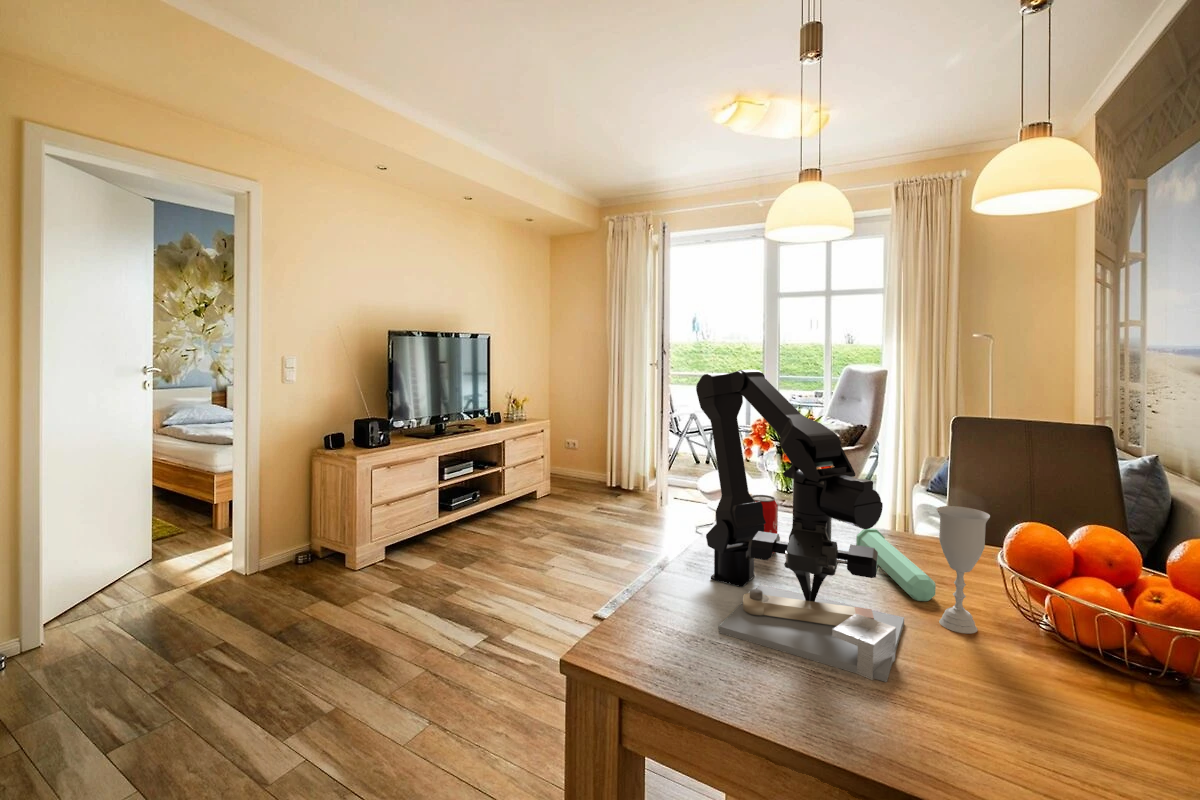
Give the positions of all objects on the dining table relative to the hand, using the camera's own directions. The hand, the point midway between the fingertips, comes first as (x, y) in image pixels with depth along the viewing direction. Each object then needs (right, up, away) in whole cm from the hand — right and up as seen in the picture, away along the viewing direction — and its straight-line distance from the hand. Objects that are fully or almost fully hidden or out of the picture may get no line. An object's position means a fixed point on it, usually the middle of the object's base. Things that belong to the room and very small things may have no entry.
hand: (810, 604), depth 88 cm
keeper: (+3, -3, -12) cm, 13 cm away
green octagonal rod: (+23, -1, +18) cm, 29 cm away
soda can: (+1, 0, +31) cm, 31 cm away
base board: (-1, -3, -3) cm, 4 cm away
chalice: (+22, -3, -2) cm, 22 cm away
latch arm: (-2, -1, -2) cm, 3 cm away
